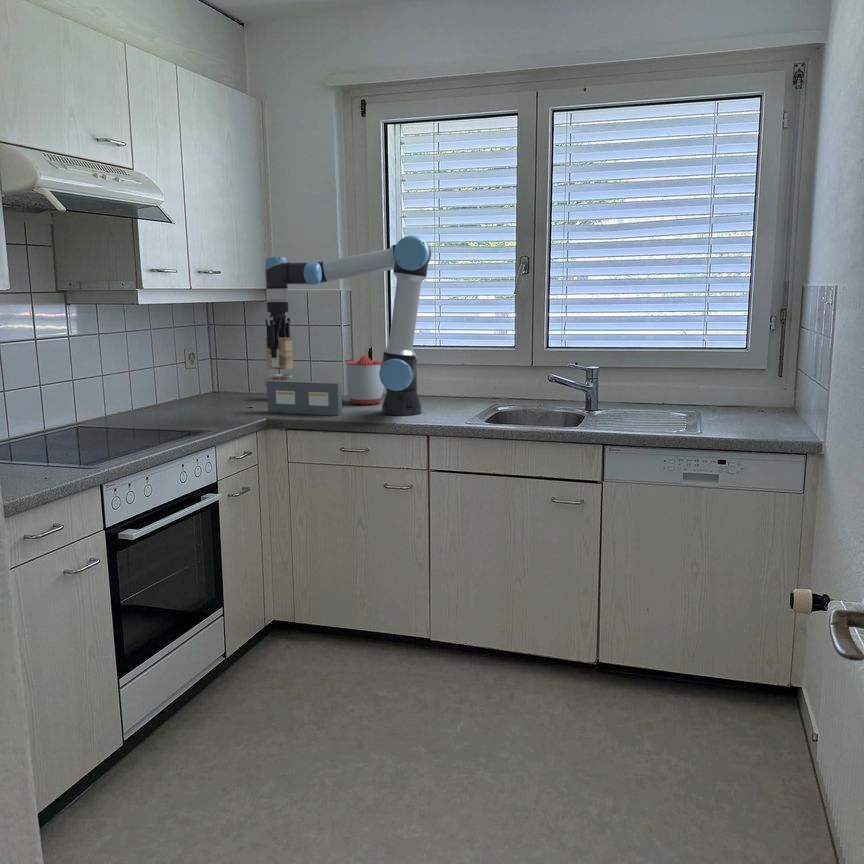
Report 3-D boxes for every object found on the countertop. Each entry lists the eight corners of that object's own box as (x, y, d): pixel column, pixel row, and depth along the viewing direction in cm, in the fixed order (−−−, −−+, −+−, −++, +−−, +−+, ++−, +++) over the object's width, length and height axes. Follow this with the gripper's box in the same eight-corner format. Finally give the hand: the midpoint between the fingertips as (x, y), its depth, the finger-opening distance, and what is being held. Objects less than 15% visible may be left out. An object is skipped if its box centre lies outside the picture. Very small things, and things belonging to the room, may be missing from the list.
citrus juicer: (385, 406, 311) (384, 356, 308) (342, 406, 313) (341, 356, 310) (392, 400, 327) (391, 353, 323) (351, 400, 329) (350, 352, 325)
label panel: (342, 414, 293) (341, 382, 291) (338, 415, 290) (337, 383, 287) (272, 410, 303) (270, 380, 300) (267, 412, 299) (265, 381, 297)
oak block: (293, 368, 284) (292, 337, 282) (286, 369, 279) (285, 338, 277) (273, 367, 286) (272, 337, 284) (266, 368, 282) (265, 338, 280)
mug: (295, 398, 336) (294, 373, 334) (292, 401, 327) (291, 376, 325) (267, 398, 335) (266, 374, 333) (263, 401, 326) (262, 376, 324)
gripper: (280, 300, 288) (283, 363, 292) (254, 301, 271) (257, 368, 275) (298, 300, 285) (300, 364, 290) (273, 301, 269) (276, 369, 273)
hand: (279, 366), depth 282 cm, fingers closed on oak block, 5 cm apart
